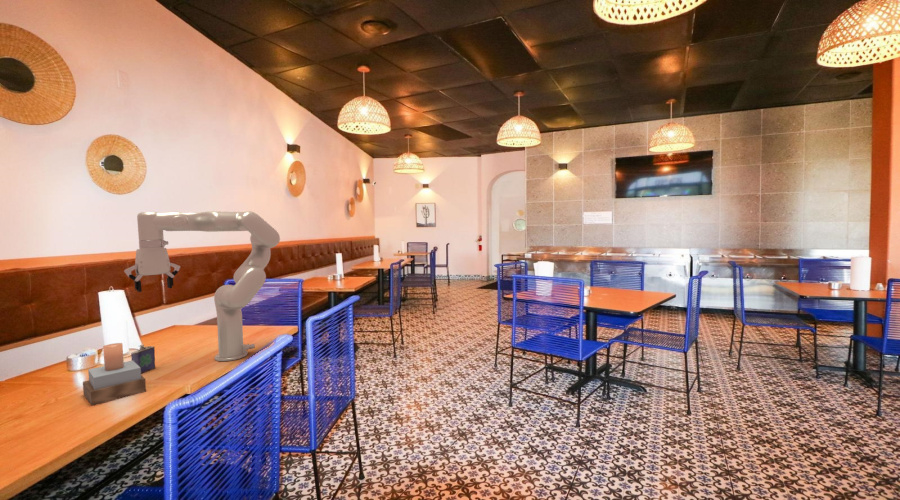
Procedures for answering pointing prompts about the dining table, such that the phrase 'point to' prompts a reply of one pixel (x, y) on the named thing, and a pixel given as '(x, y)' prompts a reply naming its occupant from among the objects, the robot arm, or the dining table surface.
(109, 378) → the top block
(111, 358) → the brown rectangular block
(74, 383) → the dining table surface
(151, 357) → the dark panel with clover
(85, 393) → the bottom block
